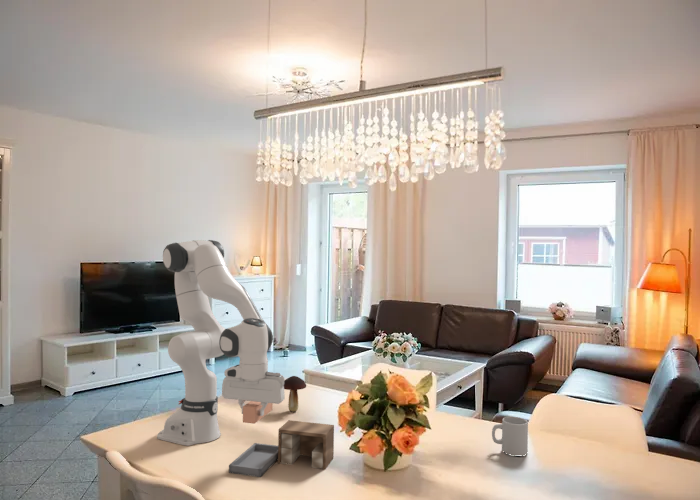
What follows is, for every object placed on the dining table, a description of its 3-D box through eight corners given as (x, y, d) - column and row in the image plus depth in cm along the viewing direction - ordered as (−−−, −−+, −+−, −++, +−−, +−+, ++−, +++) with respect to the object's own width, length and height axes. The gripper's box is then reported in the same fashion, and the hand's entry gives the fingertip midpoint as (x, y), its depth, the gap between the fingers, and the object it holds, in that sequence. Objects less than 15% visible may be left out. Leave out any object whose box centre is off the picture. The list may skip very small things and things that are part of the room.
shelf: (278, 463, 165) (278, 429, 165) (288, 452, 174) (288, 420, 174) (325, 469, 161) (325, 434, 161) (333, 458, 170) (333, 425, 170)
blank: (242, 422, 159) (243, 406, 159) (261, 408, 173) (261, 393, 173) (254, 423, 158) (254, 407, 158) (272, 409, 172) (272, 394, 172)
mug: (524, 448, 181) (524, 417, 181) (530, 457, 173) (530, 425, 173) (489, 446, 183) (490, 415, 182) (493, 455, 174) (494, 423, 174)
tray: (228, 472, 158) (228, 465, 158) (254, 449, 176) (254, 442, 176) (260, 477, 155) (260, 469, 155) (283, 453, 173) (283, 446, 173)
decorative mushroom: (304, 415, 212) (305, 379, 212) (278, 415, 212) (278, 379, 212) (307, 407, 223) (307, 373, 223) (282, 407, 223) (282, 372, 223)
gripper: (288, 371, 162) (287, 414, 162) (229, 366, 167) (228, 408, 167) (280, 375, 156) (279, 421, 156) (219, 370, 161) (219, 414, 161)
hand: (252, 414), depth 162 cm, fingers closed on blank, 4 cm apart
